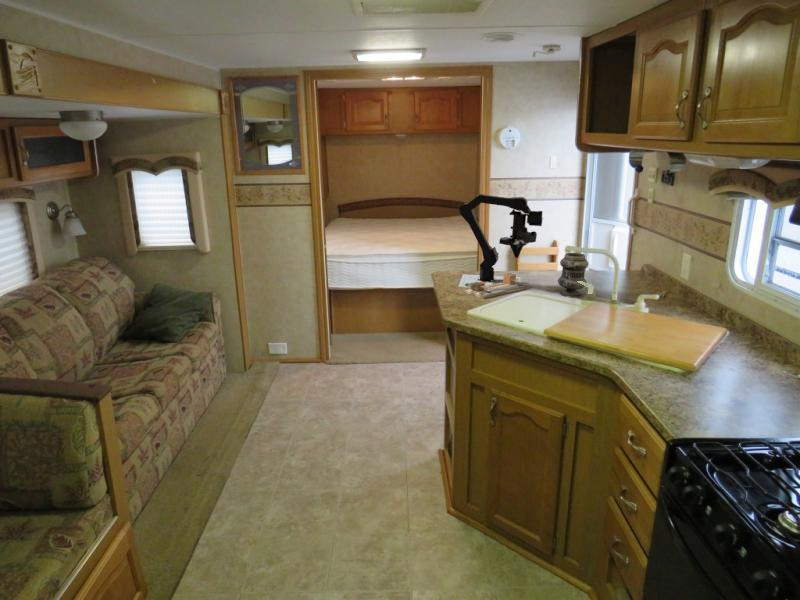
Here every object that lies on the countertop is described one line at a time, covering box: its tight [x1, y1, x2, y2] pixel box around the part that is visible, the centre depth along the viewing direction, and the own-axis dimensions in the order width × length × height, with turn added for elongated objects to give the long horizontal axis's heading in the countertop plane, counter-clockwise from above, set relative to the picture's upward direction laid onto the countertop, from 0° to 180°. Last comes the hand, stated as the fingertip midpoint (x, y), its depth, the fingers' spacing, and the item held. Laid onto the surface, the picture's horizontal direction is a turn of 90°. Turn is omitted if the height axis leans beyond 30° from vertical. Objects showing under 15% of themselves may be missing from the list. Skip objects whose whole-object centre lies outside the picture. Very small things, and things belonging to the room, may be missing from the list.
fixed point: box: [470, 281, 490, 292], centre depth 242 cm, size 10×4×3 cm, turn 37°
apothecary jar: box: [557, 252, 589, 298], centre depth 239 cm, size 12×12×18 cm
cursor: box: [502, 272, 523, 284], centre depth 253 cm, size 10×4×4 cm, turn 37°
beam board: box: [464, 281, 531, 299], centre depth 248 cm, size 12×30×2 cm, turn 127°
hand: (516, 257), depth 258 cm, fingers closed
